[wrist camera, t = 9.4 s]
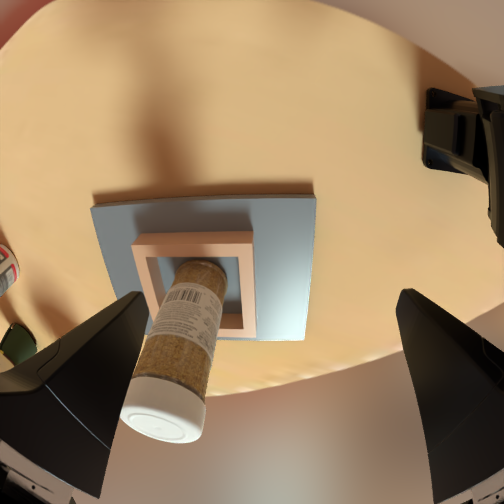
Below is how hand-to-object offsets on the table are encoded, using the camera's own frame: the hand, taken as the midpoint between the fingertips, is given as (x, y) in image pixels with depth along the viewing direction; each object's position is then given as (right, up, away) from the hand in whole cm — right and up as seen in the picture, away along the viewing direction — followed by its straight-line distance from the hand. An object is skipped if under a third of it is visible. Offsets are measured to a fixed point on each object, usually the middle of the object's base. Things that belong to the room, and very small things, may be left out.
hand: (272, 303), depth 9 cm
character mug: (-37, -12, +24) cm, 46 cm away
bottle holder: (-5, 0, +15) cm, 16 cm away
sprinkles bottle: (-5, -1, +14) cm, 15 cm away
